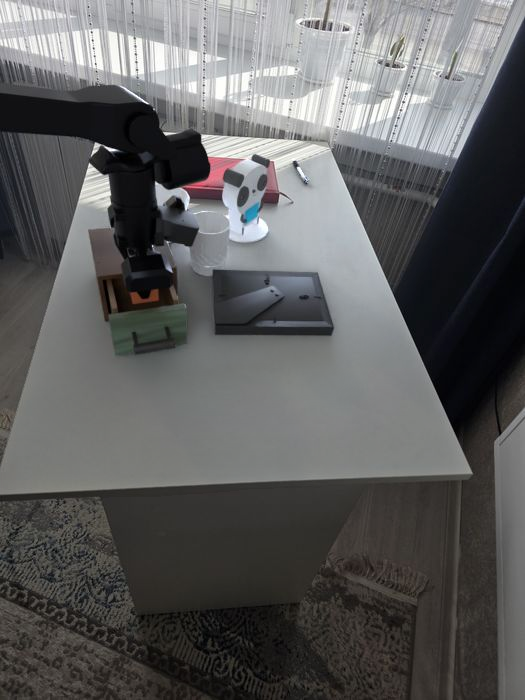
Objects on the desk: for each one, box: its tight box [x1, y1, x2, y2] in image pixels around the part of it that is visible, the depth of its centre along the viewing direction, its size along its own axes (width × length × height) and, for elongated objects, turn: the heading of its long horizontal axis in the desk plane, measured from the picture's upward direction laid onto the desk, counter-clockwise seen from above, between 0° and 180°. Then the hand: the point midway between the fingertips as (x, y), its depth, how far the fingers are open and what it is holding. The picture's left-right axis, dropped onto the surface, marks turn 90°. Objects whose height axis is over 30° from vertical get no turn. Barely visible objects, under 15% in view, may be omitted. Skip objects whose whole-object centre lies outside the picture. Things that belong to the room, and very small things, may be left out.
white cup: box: [189, 210, 231, 277], centre depth 90 cm, size 8×8×10 cm
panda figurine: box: [222, 153, 271, 244], centre depth 99 cm, size 12×11×15 cm
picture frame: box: [211, 269, 335, 337], centre depth 86 cm, size 16×3×21 cm
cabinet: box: [87, 227, 179, 323], centre depth 82 cm, size 14×13×10 cm
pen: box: [292, 158, 309, 185], centre depth 126 cm, size 14×2×1 cm, turn 12°
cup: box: [155, 183, 191, 245], centre depth 96 cm, size 10×10×9 cm
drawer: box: [106, 278, 188, 357], centre depth 75 cm, size 17×11×8 cm
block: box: [130, 289, 159, 304], centre depth 72 cm, size 4×4×4 cm
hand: (142, 289), depth 72 cm, fingers closed on block, 4 cm apart
